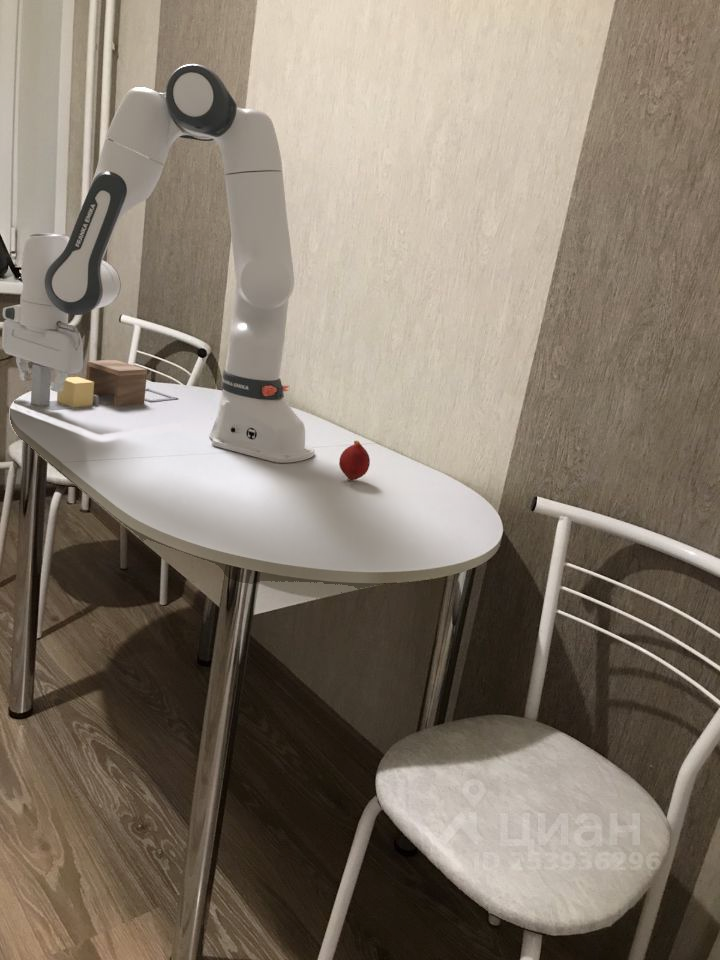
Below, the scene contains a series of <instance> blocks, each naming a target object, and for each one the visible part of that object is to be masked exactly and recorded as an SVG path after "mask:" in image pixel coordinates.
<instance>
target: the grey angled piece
mask: <svg viewBox="0 0 720 960" xmlns="http://www.w3.org/2000/svg"><path fill="white" fill-rule="evenodd" d="M31 366H32V368H31V370H32V371H31V372H32V376H31V377H32V379H31V387H30V389H31V391H30V393H31V394H30V404H33V405H36V406H39V407H42V408H44V409H48V410H50V411H58V410H68V409H76V408H77V409H78V408H86V407H89V408H90V407H96V406H97V407H99V406H105V405H106V406H108V405H111V403H110V402H106V401H104V400H101V399H99V396H100V395H98V396H97V395H94V394H93V405H89V406H79V407H71V406H69V405H66V404H63V403H60V402H57V400H51V399H50V398H51V382H52V368H49V367H46V366H43V365H40V364H37V363H33V364H32V365H31Z"/></svg>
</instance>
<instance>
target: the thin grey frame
mask: <svg viewBox="0 0 720 960" xmlns="http://www.w3.org/2000/svg"><path fill="white" fill-rule="evenodd" d="M145 392H149V393H150V392H151V393H153V394H156V395H160V396H162V397H165V398H156V399H150V398H146V397H145V400H144V402H148V403H157V402H159V403H160V402H168V401H175V400H179V398H178V397H176V396H172V395H170V394H166V393H164V392H160V391H157V390H153V389H151V388H146V389H145Z"/></svg>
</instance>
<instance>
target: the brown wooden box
mask: <svg viewBox="0 0 720 960" xmlns="http://www.w3.org/2000/svg"><path fill="white" fill-rule="evenodd" d="M147 376H148V369H147V368H143V367H140V366H137V365H134V364H131V363H127V362H124V361H120V360H117V359H103V360H102V359H101V360H87V362H86V374H85V379H86V380H89V381H92V382H94V391H93V394H94V395H97V396H108V395H114V397H113V406H115V407H122V406H132V405H141V404H145V398H146V391H145V389H147V388H146V387H147Z"/></svg>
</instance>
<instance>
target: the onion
mask: <svg viewBox="0 0 720 960" xmlns="http://www.w3.org/2000/svg"><path fill="white" fill-rule="evenodd" d="M369 455H370V454H369V452H368V451H367V450H366V449H365V447H363V445H362V444H361V443H360V441H359V440H354V441H353V445H350V446H347V447H346V448H345V449H344V450H343V451H342V452H341V454H340V457H339V461H338V463H339V464H338V465H339V469H340V470H341V472H342V473H343V474H344V475H345V476H346V478H347V479H348V481H351V482H353V481H355V480H358V479H360V478H362V477H363V476H364V475H365V474H366V473H368V471H369V467H370V463H371V459H370V456H369Z"/></svg>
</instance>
